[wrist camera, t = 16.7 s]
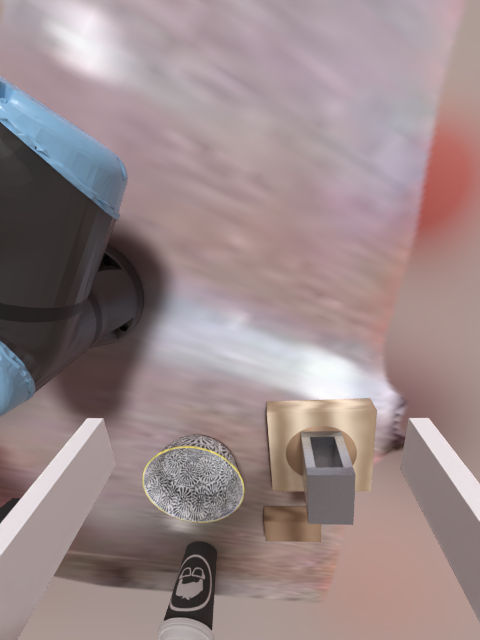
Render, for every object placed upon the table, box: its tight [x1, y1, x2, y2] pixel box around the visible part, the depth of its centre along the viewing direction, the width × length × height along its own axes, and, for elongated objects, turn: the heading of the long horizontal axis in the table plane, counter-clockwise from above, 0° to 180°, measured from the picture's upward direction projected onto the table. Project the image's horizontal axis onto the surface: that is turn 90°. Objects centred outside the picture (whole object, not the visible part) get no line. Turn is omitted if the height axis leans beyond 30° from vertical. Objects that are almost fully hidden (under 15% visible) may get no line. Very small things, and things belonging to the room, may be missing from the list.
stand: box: [264, 506, 321, 542], centre depth 55 cm, size 10×5×3 cm, turn 95°
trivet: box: [267, 398, 377, 491], centre depth 49 cm, size 16×16×3 cm
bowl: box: [142, 435, 245, 523], centre depth 49 cm, size 16×16×8 cm
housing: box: [301, 431, 356, 525], centre depth 44 cm, size 9×6×8 cm, turn 5°
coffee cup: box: [158, 542, 217, 640], centre depth 56 cm, size 10×10×15 cm
